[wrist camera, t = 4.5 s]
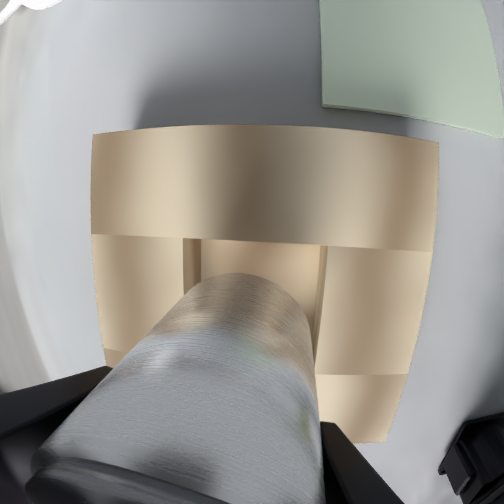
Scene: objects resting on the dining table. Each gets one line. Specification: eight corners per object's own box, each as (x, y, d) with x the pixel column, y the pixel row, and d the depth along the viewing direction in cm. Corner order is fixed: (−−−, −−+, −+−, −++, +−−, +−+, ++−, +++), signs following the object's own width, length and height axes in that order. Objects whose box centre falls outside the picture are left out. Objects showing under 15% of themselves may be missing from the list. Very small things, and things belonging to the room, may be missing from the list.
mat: (473, -9, 12) (476, -12, 11) (500, 138, 14) (505, 138, 14) (315, -46, 13) (315, -51, 13) (321, 107, 16) (322, 104, 15)
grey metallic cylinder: (327, 290, 10) (396, 533, 2) (290, 408, 11) (276, 614, 3) (180, 258, 11) (-27, 402, 2) (167, 378, 12) (57, 548, 3)
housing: (408, 151, 15) (438, 142, 12) (372, 402, 19) (384, 441, 15) (129, 143, 17) (92, 134, 13) (141, 382, 20) (117, 414, 16)
